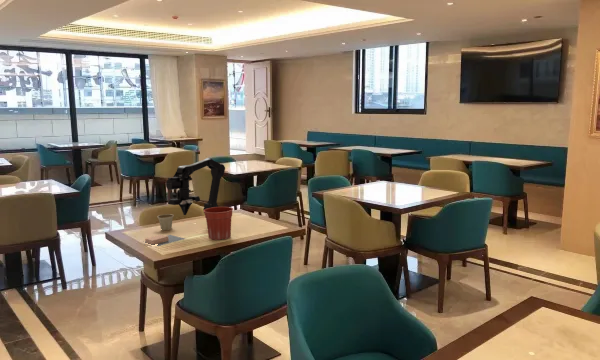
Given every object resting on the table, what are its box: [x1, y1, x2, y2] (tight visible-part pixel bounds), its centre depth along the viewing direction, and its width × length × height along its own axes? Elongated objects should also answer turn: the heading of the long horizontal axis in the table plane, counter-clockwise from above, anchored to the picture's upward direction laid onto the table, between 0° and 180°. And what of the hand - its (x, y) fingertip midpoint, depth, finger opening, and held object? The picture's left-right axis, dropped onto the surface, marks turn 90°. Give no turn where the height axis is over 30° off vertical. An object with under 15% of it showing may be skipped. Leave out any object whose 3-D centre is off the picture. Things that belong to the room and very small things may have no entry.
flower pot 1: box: [157, 213, 174, 231], centre depth 298 cm, size 9×9×9 cm
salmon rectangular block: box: [144, 234, 169, 245], centre depth 269 cm, size 3×7×10 cm
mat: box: [157, 234, 186, 247], centre depth 272 cm, size 20×15×1 cm
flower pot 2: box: [203, 206, 234, 241], centre depth 276 cm, size 16×16×16 cm
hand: (184, 215), depth 283 cm, fingers closed
